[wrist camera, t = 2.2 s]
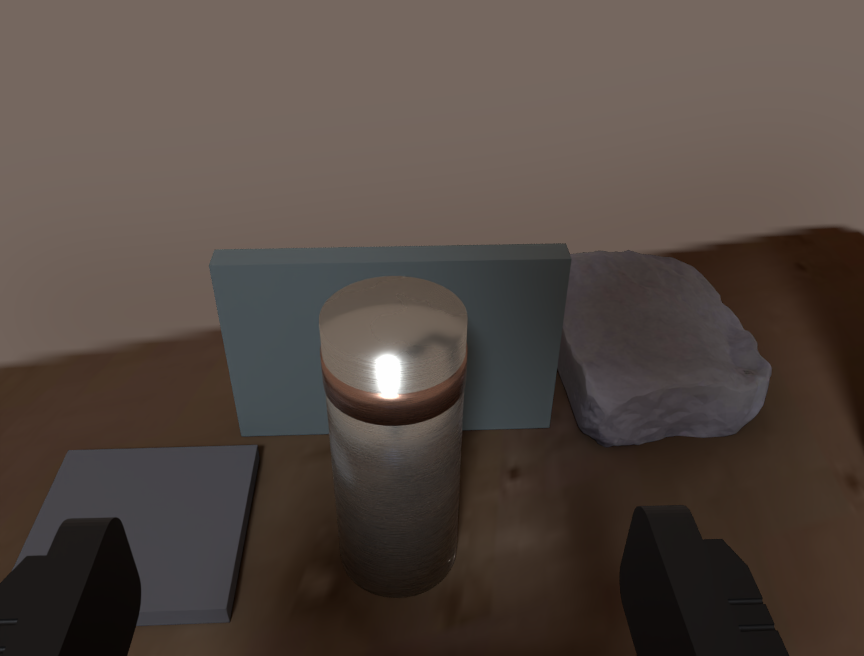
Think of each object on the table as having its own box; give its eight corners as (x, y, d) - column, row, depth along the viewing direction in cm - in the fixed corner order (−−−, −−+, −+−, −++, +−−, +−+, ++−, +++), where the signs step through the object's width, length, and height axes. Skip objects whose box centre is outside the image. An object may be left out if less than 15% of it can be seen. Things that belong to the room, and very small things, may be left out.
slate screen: (544, 410, 36) (565, 243, 31) (549, 427, 35) (571, 258, 30) (245, 418, 36) (214, 249, 30) (241, 436, 35) (209, 265, 29)
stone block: (676, 321, 46) (516, 303, 44) (710, 254, 43) (541, 230, 41) (765, 474, 36) (568, 460, 34) (817, 400, 34) (605, 380, 31)
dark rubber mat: (259, 458, 34) (257, 445, 33) (229, 622, 27) (226, 608, 27) (73, 463, 33) (68, 450, 33) (-3, 630, 27) (-10, 617, 26)
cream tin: (453, 499, 32) (462, 274, 25) (462, 596, 28) (476, 361, 22) (341, 503, 32) (322, 276, 25) (335, 601, 28) (311, 365, 21)
